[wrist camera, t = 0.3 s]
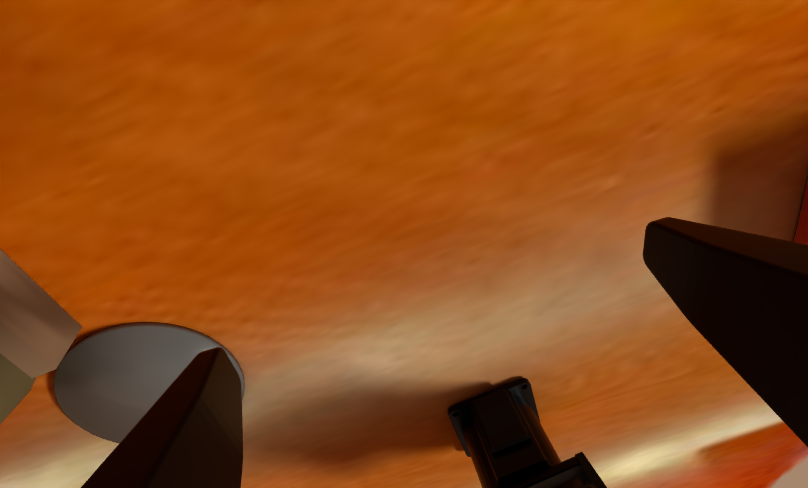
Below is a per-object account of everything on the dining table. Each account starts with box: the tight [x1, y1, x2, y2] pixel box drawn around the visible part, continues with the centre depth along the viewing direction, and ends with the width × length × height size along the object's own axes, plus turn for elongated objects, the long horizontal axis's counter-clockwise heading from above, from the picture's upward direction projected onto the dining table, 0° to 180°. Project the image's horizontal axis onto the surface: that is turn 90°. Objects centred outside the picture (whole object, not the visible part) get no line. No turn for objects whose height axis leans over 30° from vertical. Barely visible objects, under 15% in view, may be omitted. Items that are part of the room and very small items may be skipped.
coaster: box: [54, 322, 244, 443], centre depth 26 cm, size 10×10×1 cm
